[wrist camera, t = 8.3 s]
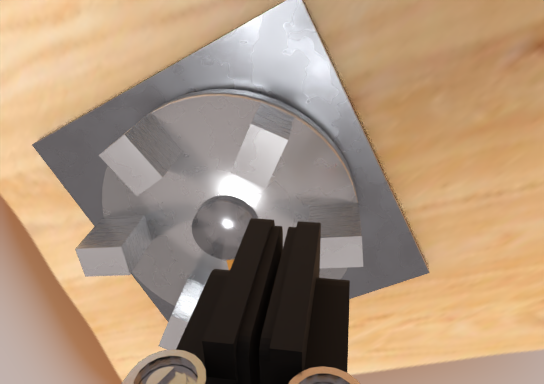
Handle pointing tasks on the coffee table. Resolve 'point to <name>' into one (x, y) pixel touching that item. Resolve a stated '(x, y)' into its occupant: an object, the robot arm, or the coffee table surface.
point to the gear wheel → (216, 194)
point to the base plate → (271, 82)
